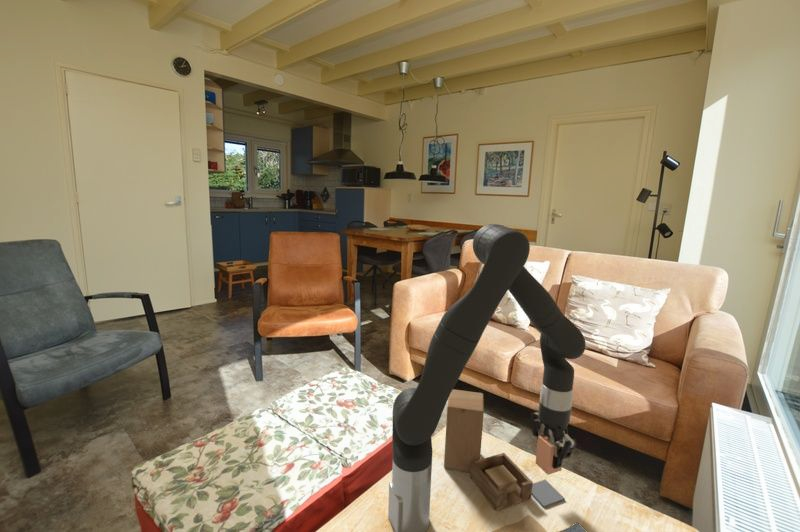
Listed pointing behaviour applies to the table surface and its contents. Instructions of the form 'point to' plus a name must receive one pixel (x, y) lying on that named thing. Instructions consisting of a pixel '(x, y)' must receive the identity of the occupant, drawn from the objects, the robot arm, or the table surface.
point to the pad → (546, 493)
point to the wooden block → (463, 429)
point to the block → (546, 455)
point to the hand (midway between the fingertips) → (548, 460)
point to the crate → (501, 481)
